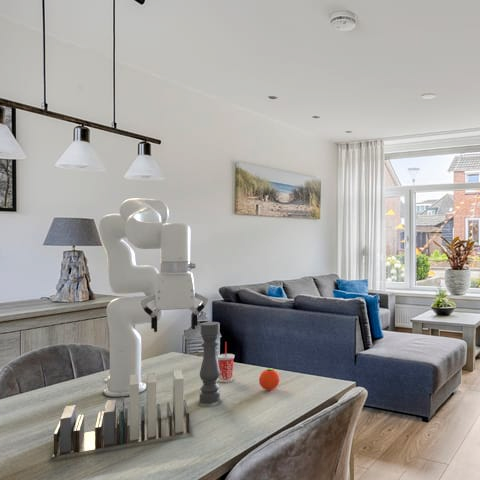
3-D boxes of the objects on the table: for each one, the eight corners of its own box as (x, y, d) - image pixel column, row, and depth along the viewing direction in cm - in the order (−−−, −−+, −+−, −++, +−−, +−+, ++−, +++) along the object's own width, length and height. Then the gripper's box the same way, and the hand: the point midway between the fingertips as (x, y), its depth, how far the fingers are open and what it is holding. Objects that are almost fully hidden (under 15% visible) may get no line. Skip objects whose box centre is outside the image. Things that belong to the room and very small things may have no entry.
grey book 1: (59, 452, 106) (60, 418, 106) (65, 437, 114) (65, 406, 114) (70, 451, 107) (71, 417, 107) (75, 436, 115) (75, 404, 115)
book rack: (52, 461, 104) (52, 422, 104) (60, 440, 115) (60, 405, 115) (190, 436, 117) (190, 402, 117) (185, 419, 128) (185, 388, 128)
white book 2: (147, 437, 114) (147, 382, 114) (146, 424, 122) (146, 373, 122) (155, 436, 115) (156, 381, 115) (154, 423, 123) (155, 372, 123)
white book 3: (175, 433, 117) (175, 379, 117) (172, 420, 125) (172, 370, 125) (183, 431, 118) (183, 378, 118) (180, 419, 126) (180, 369, 126)
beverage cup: (219, 384, 160) (219, 344, 160) (214, 379, 165) (215, 341, 165) (236, 381, 163) (236, 342, 163) (231, 376, 168) (231, 339, 168)
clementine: (264, 384, 159) (264, 364, 159) (283, 385, 158) (283, 365, 158) (255, 392, 152) (255, 371, 152) (275, 393, 150) (275, 372, 150)
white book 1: (129, 440, 112) (129, 384, 112) (130, 427, 120) (130, 375, 120) (138, 439, 113) (138, 383, 113) (138, 426, 121) (138, 374, 121)
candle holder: (213, 407, 138) (214, 325, 138) (195, 405, 139) (195, 324, 139) (223, 400, 144) (224, 322, 144) (206, 398, 145) (206, 321, 145)
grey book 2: (103, 445, 110) (103, 412, 110) (106, 431, 118) (106, 400, 118) (114, 443, 111) (114, 411, 111) (115, 429, 119) (115, 399, 119)
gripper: (206, 266, 131) (205, 325, 131) (140, 267, 124) (139, 329, 124) (210, 268, 125) (209, 330, 125) (140, 269, 117) (139, 335, 117)
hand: (174, 329), depth 124 cm, fingers open, 9 cm apart
